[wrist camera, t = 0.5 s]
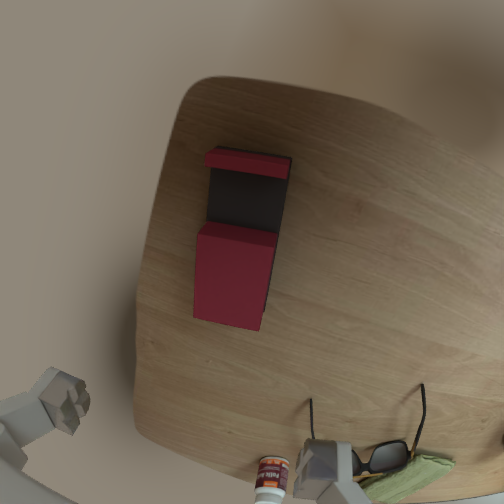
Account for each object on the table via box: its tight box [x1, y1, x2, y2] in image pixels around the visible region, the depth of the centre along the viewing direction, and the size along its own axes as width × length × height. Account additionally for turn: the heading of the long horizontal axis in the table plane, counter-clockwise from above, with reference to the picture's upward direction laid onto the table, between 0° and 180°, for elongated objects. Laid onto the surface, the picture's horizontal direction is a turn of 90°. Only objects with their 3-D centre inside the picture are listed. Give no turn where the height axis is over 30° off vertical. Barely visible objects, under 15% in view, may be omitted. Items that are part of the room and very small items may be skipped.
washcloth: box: [358, 454, 456, 504], centre depth 42 cm, size 13×18×3 cm
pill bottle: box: [255, 457, 289, 504], centre depth 40 cm, size 5×5×8 cm
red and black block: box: [193, 146, 292, 331], centre depth 26 cm, size 14×6×4 cm, turn 172°
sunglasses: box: [310, 384, 426, 478], centre depth 35 cm, size 14×15×5 cm
